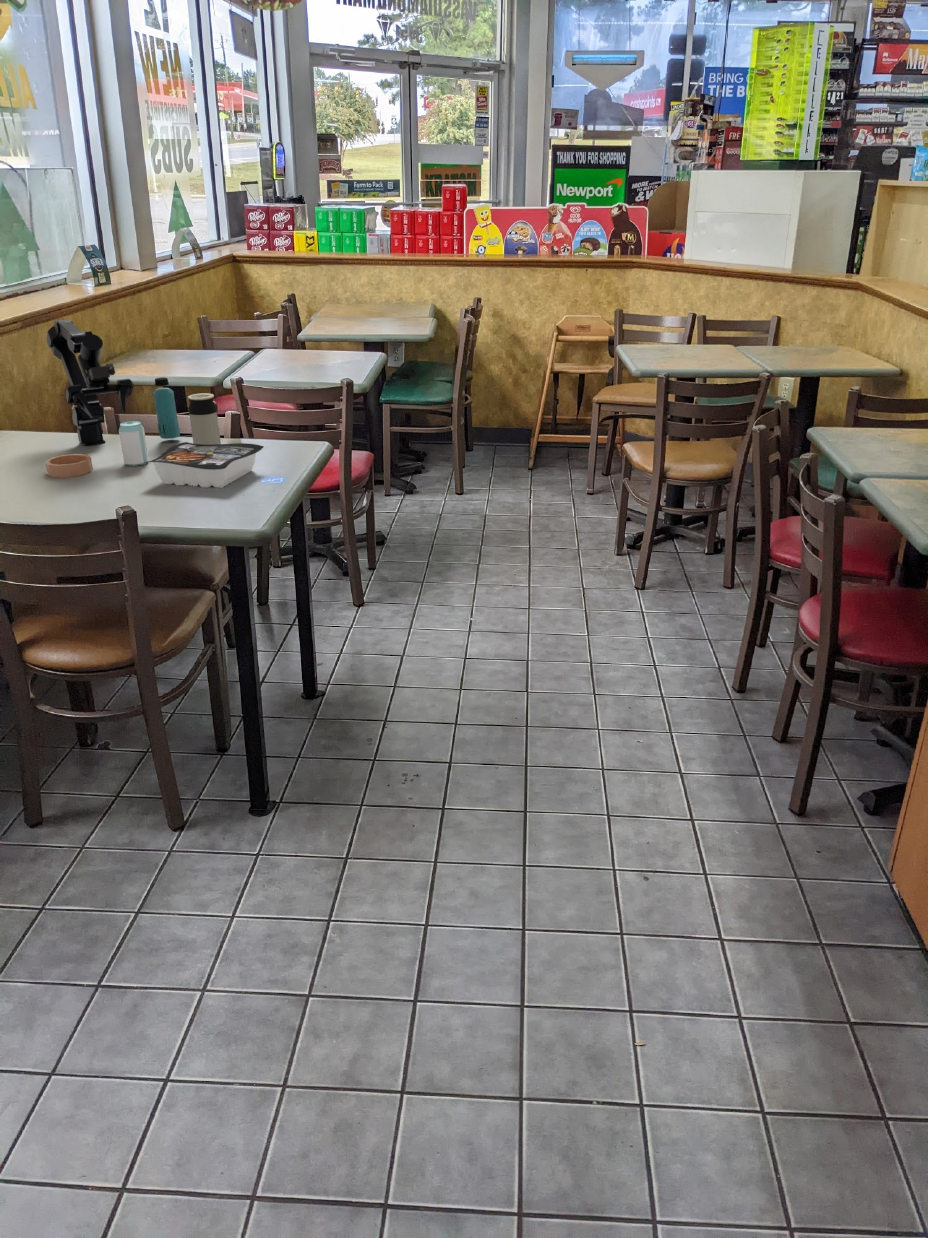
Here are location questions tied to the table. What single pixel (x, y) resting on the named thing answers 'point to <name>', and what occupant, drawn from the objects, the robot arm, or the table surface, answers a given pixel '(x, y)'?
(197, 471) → the food packaging
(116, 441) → the table surface
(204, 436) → the travel mug
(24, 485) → the table surface
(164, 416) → the beverage bottle
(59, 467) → the bowl
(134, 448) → the can
